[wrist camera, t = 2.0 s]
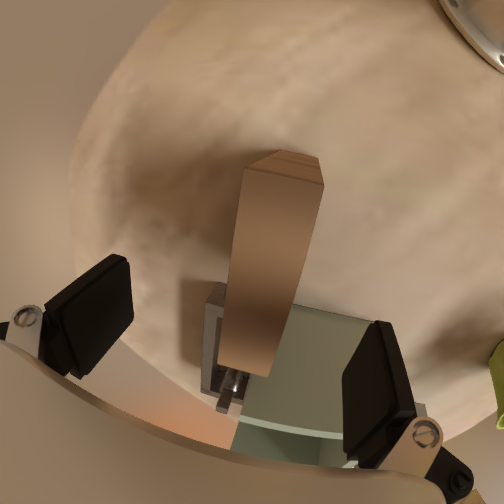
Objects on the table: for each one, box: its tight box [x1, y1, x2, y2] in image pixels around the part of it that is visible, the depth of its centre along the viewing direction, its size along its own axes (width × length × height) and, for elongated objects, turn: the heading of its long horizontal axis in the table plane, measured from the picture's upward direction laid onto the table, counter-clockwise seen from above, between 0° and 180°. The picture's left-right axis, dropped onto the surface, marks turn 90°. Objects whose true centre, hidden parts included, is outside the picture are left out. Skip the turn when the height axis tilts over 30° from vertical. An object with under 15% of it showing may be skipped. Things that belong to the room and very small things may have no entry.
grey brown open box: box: [201, 282, 252, 414], centre depth 20 cm, size 13×6×11 cm, turn 171°
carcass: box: [230, 304, 374, 468], centre depth 19 cm, size 12×9×11 cm
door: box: [217, 150, 324, 377], centre depth 14 cm, size 9×3×10 cm, turn 171°
